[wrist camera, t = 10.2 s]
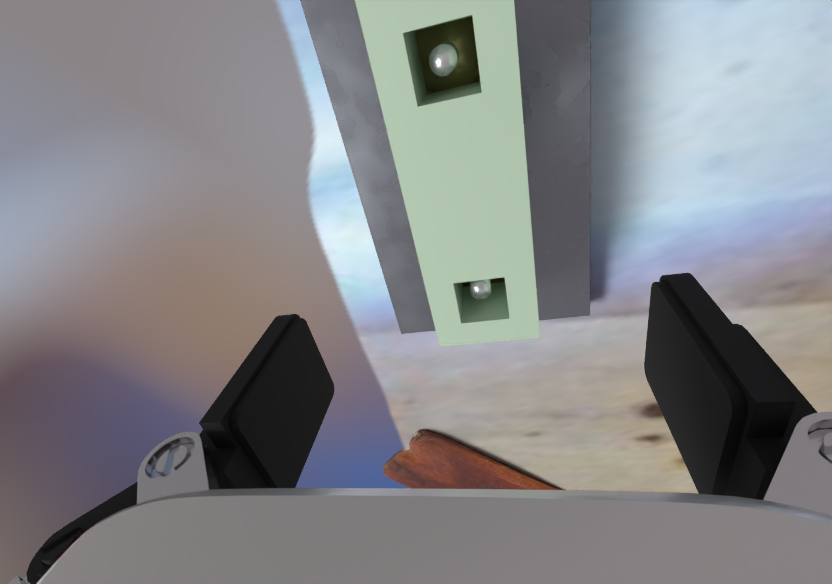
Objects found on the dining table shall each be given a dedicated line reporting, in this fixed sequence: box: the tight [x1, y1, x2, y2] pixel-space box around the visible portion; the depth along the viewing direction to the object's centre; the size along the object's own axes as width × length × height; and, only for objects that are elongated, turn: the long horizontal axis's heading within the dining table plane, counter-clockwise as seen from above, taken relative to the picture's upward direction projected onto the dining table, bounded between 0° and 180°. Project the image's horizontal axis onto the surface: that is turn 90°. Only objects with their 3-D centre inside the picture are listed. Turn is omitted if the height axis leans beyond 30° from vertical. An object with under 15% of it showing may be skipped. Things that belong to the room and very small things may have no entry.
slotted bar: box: [355, 0, 540, 346], centre depth 22 cm, size 6×18×4 cm, turn 13°
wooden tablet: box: [383, 430, 560, 490], centre depth 45 cm, size 27×10×2 cm, turn 62°
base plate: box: [300, 0, 590, 334], centre depth 23 cm, size 14×24×6 cm, turn 13°
